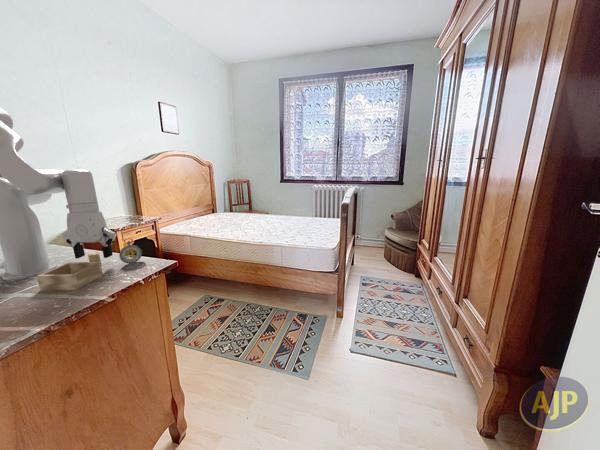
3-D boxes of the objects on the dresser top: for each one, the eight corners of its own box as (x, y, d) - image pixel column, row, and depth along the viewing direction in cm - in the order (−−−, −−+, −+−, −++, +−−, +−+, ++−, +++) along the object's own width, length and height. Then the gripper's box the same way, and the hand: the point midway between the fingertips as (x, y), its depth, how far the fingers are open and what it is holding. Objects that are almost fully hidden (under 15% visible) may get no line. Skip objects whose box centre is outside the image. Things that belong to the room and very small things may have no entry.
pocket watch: (135, 272, 83) (130, 243, 80) (114, 270, 84) (108, 242, 82) (153, 263, 90) (149, 237, 88) (134, 261, 92) (130, 236, 90)
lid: (68, 276, 81) (64, 259, 80) (93, 264, 91) (90, 249, 90) (100, 275, 81) (97, 259, 80) (122, 264, 92) (119, 249, 90)
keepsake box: (40, 292, 70) (36, 276, 69) (72, 277, 79) (68, 262, 78) (76, 291, 70) (72, 275, 69) (103, 276, 80) (100, 262, 78)
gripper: (46, 210, 78) (58, 261, 81) (102, 209, 78) (111, 260, 82) (67, 206, 85) (78, 253, 89) (118, 205, 85) (126, 252, 89)
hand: (94, 256), depth 85 cm, fingers open, 9 cm apart
